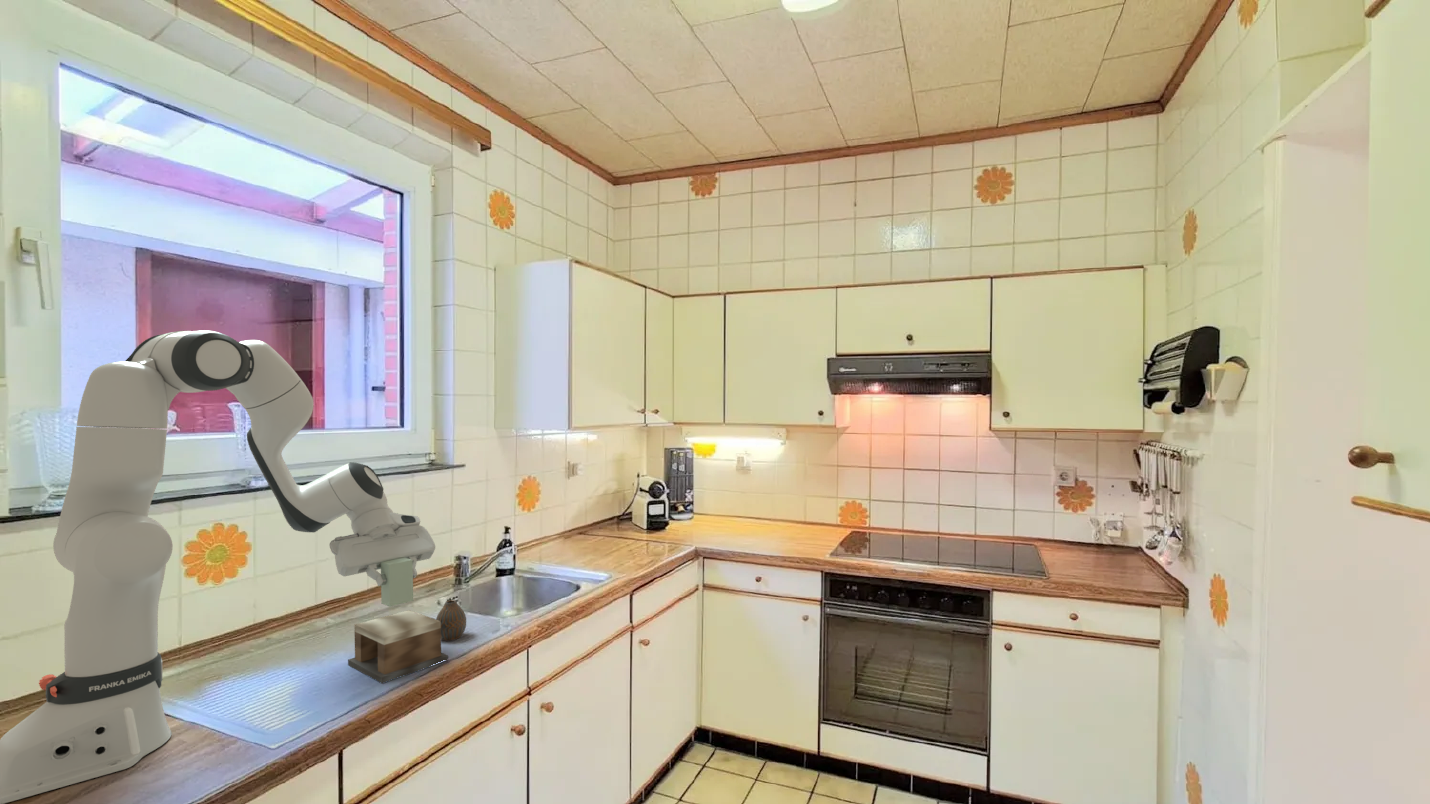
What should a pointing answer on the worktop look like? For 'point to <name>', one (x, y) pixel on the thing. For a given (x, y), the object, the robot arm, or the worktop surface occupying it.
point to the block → (397, 582)
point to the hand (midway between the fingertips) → (398, 580)
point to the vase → (451, 621)
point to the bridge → (397, 645)
